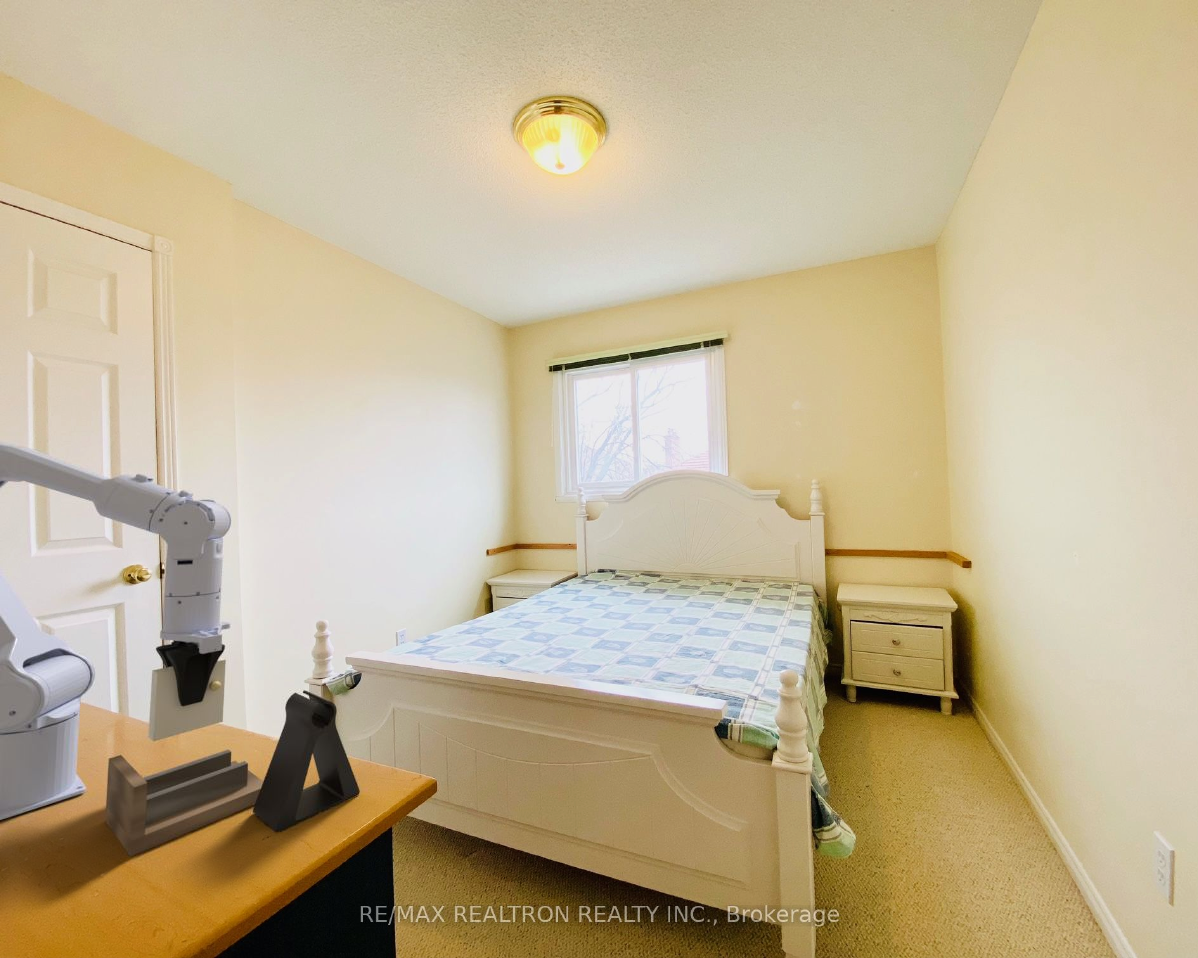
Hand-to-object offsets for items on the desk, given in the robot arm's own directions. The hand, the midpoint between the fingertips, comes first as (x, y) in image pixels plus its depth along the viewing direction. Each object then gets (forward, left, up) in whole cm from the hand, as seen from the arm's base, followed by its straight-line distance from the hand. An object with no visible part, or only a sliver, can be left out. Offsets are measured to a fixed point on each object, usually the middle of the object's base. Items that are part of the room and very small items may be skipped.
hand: (188, 701), depth 64 cm
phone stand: (+19, +6, -10) cm, 22 cm away
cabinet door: (0, 0, -3) cm, 3 cm away
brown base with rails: (+9, -2, -9) cm, 13 cm away
